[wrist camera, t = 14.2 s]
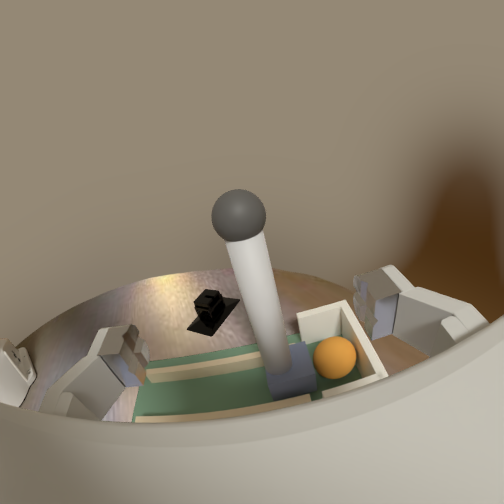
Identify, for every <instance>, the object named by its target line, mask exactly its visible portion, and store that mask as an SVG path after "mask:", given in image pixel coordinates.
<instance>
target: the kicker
mask: <svg viewBox="0 0 504 504" xmlns="http://www.w3.org/2000/svg"><path fill="white" fill-rule="evenodd" d="M265 221H266V212H265V208H264V206H263V203H262V202H261V200H260V199H259V198H258V197H257V196H256V195H254V194H253V193H251V192H249V191H246V190H241V189H238V190H231V191H228V192H226V193H224V194H223V195H222V196H220V198H218V200H217V201H216V203H215V205H214V207H213V210H212V223H213V227H214V229H215V231H216V232H217V233H218V235H219V236H220V237H222V238H223V239H224V240H225V244H226V247H227V250H228V253H229V256H230V260H231V263H232V266H233V270H234V273H235V276H236V279H237V283H238V286H239V289H240V292H241V295H242V299H243V302H244V305H245V308H246V311H247V314H248V317H249V320H250V324H251V327H252V330H253V333H254V336H255V339H256V342H257V345H258V348H259V351H260V354H261V357H262V360H263V363H264V366H265V370H266V377H267V383H268V387H269V390H270V393H271V395H272V398H273V401H277V400H282V399H286V398H291V397H295V396H299V395H303V394H307V393H311V392H314V391H317V383H316V374H315V370H314V367H313V364H312V361H311V358H310V355H309V352H308V349H307V346H306V343H305V341H303V342H299V343H295V344H291V345H289V344H288V340H287V335H286V330H285V326H284V321H283V317H282V312H281V308H280V303H279V298H278V294H277V290H276V285H275V281H274V276H273V272H272V267H271V264H270V259H269V254H268V250H267V246H266V241H265V237H264V233H263V227H264V225H265Z"/></svg>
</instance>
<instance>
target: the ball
mask: <svg viewBox="0 0 504 504" xmlns="http://www.w3.org/2000/svg"><path fill="white" fill-rule="evenodd" d="M355 362H356V351H355V348H354V346H353V345H352V343H351V342H350V341H348V340H347V339H345V338H343V337H338V336H334V337H329V338H326V339H324V340H323V341H322V342H320V343H319V344H318V346H317V347H316V349H315V351H314V354H313V364H314V367H315V369H316V371H317V372H318V373H319V374H320V375H322V376H323V377H325V378H328V379H338V378H342V377H344V376H346V375H347V374H348V373H349V372H350V371H351V370H352V369H353V367H354V365H355Z"/></svg>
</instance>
